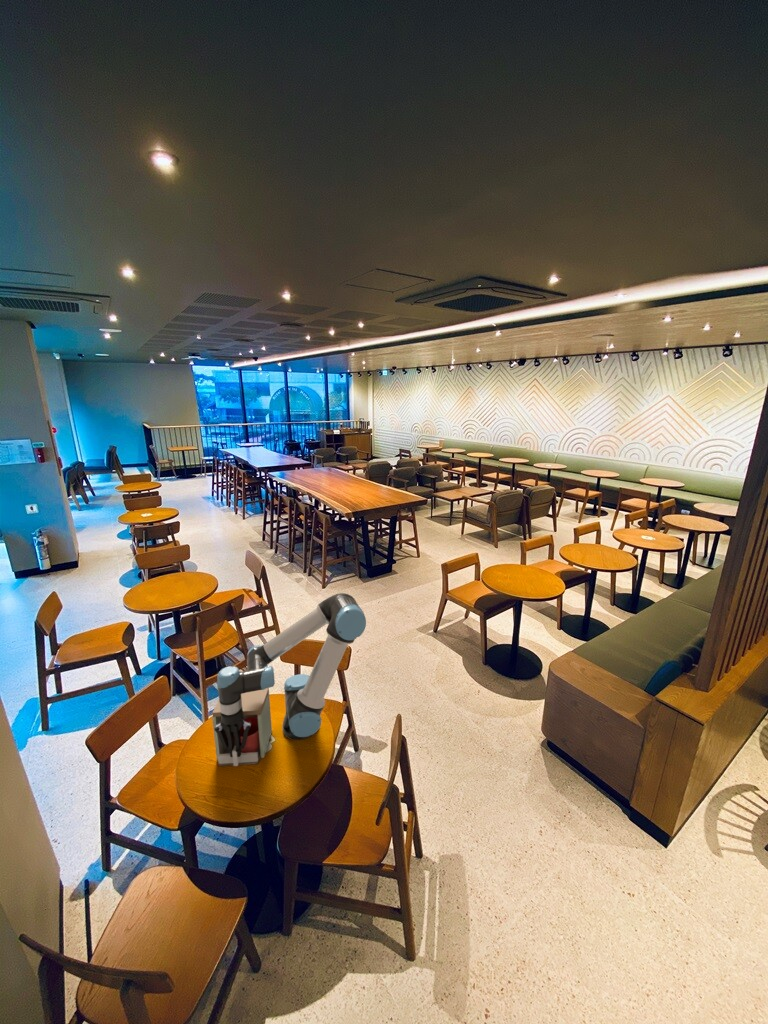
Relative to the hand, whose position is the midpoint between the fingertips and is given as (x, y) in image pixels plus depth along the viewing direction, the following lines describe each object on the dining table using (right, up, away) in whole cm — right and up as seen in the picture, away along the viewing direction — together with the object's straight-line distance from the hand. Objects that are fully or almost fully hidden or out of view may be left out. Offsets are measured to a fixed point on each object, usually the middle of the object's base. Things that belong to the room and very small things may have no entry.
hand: (236, 762), depth 149 cm
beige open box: (-1, 0, +11) cm, 11 cm away
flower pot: (+2, 0, +9) cm, 9 cm away
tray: (-1, -1, +9) cm, 9 cm away
